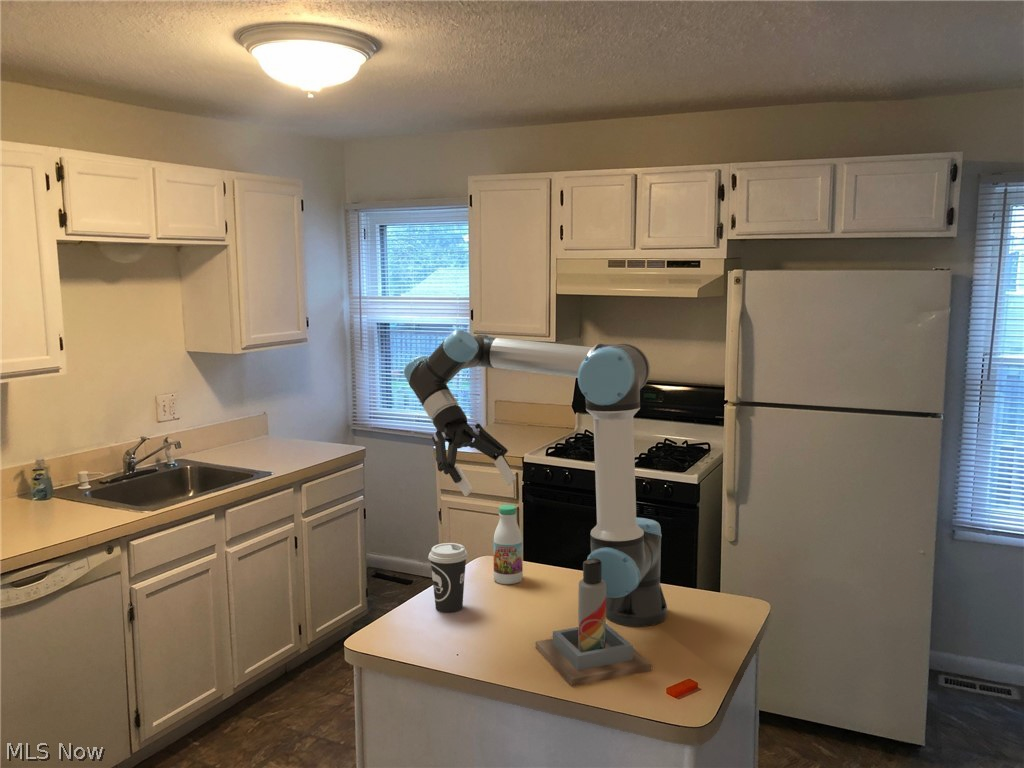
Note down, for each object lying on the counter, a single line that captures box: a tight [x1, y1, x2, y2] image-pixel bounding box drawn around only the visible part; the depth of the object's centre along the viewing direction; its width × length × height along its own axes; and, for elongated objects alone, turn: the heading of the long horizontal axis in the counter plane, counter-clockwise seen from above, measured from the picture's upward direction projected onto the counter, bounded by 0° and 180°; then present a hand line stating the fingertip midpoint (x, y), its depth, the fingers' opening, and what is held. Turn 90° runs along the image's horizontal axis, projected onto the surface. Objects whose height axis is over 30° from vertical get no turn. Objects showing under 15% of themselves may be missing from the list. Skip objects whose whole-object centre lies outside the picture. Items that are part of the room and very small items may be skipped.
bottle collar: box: [552, 623, 634, 671], centre depth 168 cm, size 12×12×3 cm
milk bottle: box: [493, 504, 524, 585], centre depth 212 cm, size 8×8×20 cm
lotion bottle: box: [577, 558, 607, 653], centre depth 167 cm, size 6×6×20 cm
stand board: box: [535, 638, 653, 688], centre depth 168 cm, size 18×18×2 cm
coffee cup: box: [427, 542, 469, 614], centre depth 194 cm, size 10×10×15 cm
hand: (491, 487), depth 180 cm, fingers open, 13 cm apart
